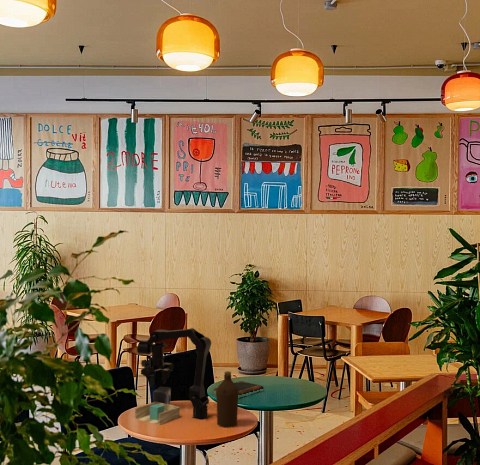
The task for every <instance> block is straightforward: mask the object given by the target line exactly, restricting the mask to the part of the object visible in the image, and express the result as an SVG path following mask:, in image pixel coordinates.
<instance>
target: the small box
mask: <svg viewBox="0 0 480 465" xmlns="http://www.w3.org/2000/svg"><path fill="white" fill-rule="evenodd" d="M171 392H172V388H171V387H168V386H159V387H157V388H156V389H155V390H154V391H153V393H152V397H153V398H152V403H153V402H160V403H164V404H169V405H171V396H172V395H171Z"/></svg>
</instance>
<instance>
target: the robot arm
mask: <svg viewBox="0 0 480 465" xmlns="http://www.w3.org/2000/svg"><path fill="white" fill-rule="evenodd" d="M180 338H188V339H189V340H190V341H191V343H192V344H193V345H194V346H195V353H196V356H197V357H196V364H195V365H196V366H195V373H194V380H193V381H194V382H193V385H192V386H190V387H189V388H188V395H187V396H188V400H189V401H190V403H191V405H192V419H195V420H205V419H208V418H210V416H208V409H209V408H208V404H209V402H210V399H209V398H208V397H207V395H206V389H205V386H204V382H205V381H204V380H205V371H206V364H207V356H208V354H209V352H210V350H211V346H212V340H211V339H210V338H209V337H207V336H205V335H204V334H203V333H201V332H199V331H197V330H196V329H195V328H193V327H190V328H186V329H184V328H183V329H174V330H173V329H172V330H167V329H157V330H153V331H151V333H150V336H149V338H148V339H147V340H144V339H143V340H139V341H138V344H137V349H136V351H137V352H136V353H137V354H139V355H149V356H150V355H151V356H150V357H149V360H147V359H142V360H141V362H140V365H141V367H142V368H141V369H140V375H142V376H143V377H145V378H146V379H147V383H148V385H149V387H150V388H151V389H153V387H154V384H155V378H156V375H155V372H159V371H160V372H161V374H162V385H166V383H167V381H168V378H169V377H170V375H171V373H172V372H173V370H175V365H174V364H173V363H171V362H164V360H166V356H164V348H165V347H168V343H166V342H165V341H166V340H169V339H170V340H171V339H180Z"/></svg>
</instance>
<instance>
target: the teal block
mask: <svg viewBox="0 0 480 465" xmlns="http://www.w3.org/2000/svg"><path fill="white" fill-rule="evenodd" d="M162 412H164V405H160V404H155V405H152V406H150V419H154V420H158V414H160V413H162Z"/></svg>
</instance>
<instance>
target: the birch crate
mask: <svg viewBox="0 0 480 465" xmlns="http://www.w3.org/2000/svg"><path fill="white" fill-rule="evenodd" d="M155 404H160V405H164V412H162V413H160V414H158V420H154V419H150V406H152V405H155ZM180 409H181V408H180V406H177V405H173V404H170V405H169V404H164V403H160V402H153V401H152V402H150V403H148V404H144V405H141V406H138V407H136V408H135V409H134V419H135V420H138V421H141V422H147V423H151V424H153V425H154V424H155V425H158V426H160V425H163V424H165V423H168V422H170V421H174V420H176V419H179V418H180V416H181V414H180Z"/></svg>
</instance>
